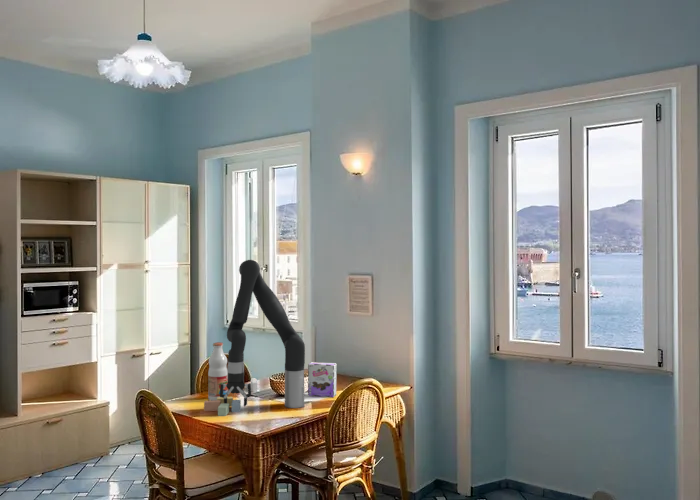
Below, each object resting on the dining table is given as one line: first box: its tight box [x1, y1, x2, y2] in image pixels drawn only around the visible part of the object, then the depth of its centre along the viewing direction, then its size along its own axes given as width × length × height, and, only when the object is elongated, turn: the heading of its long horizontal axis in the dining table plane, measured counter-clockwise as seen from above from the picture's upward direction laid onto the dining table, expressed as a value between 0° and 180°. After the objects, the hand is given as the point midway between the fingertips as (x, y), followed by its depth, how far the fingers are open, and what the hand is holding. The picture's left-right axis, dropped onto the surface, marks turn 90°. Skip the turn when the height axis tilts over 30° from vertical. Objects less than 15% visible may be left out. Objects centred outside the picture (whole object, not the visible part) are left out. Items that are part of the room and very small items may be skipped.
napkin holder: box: [250, 377, 258, 393], centre depth 329 cm, size 15×11×6 cm
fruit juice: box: [207, 341, 229, 401], centre depth 307 cm, size 9×9×28 cm
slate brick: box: [231, 399, 242, 413], centre depth 287 cm, size 7×4×4 cm, turn 6°
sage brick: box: [217, 403, 230, 417], centre depth 280 cm, size 7×4×4 cm, turn 0°
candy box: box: [307, 361, 338, 398], centre depth 315 cm, size 14×6×16 cm, turn 76°
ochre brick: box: [217, 396, 234, 408], centre depth 294 cm, size 7×4×4 cm, turn 106°
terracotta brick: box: [203, 400, 221, 412], centre depth 287 cm, size 7×4×4 cm, turn 97°
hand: (235, 406), depth 287 cm, fingers open, 8 cm apart
